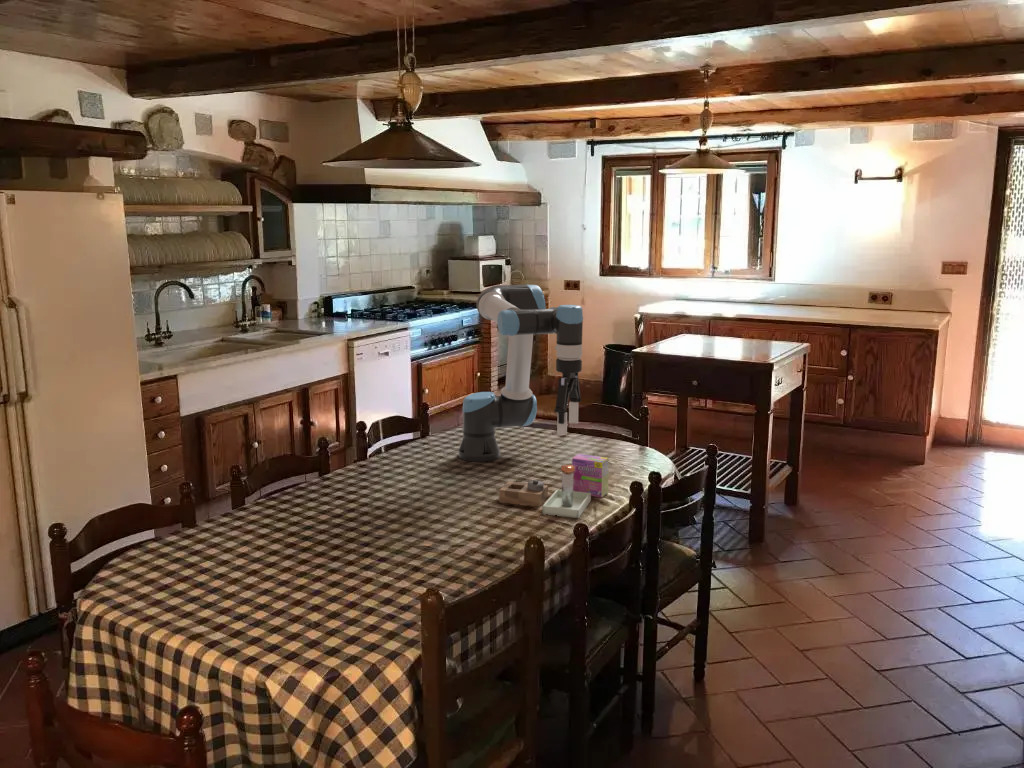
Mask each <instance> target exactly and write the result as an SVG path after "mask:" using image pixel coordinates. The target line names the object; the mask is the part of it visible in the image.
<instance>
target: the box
mask: <svg viewBox="0 0 1024 768" xmlns="http://www.w3.org/2000/svg"><path fill="white" fill-rule="evenodd" d="M609 460H610V459H609V457H603V456H599V455H598V456H597V455H589V454H582V453H577V454H576V455H574V456H573V457H572V460H571V465H573V466H575V472H574V475H573V491H576V492H586V493H591V497H594V498H595V497H596V498H603V497H604V496H606V495H607V494H608V493H609V468H610V467H609V466H610V465H609V463H610V461H609Z"/></svg>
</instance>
